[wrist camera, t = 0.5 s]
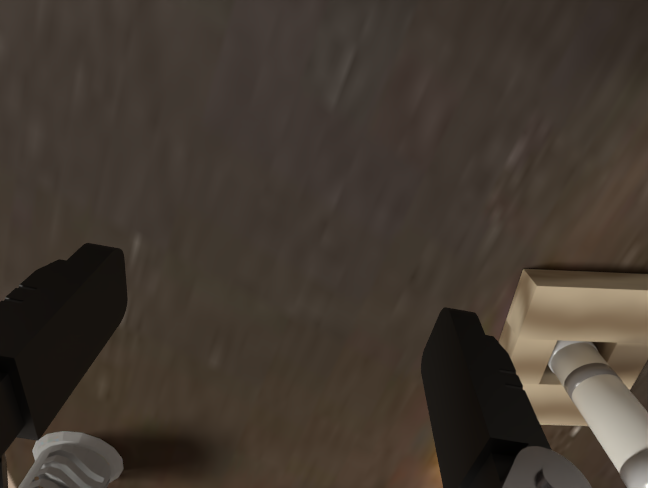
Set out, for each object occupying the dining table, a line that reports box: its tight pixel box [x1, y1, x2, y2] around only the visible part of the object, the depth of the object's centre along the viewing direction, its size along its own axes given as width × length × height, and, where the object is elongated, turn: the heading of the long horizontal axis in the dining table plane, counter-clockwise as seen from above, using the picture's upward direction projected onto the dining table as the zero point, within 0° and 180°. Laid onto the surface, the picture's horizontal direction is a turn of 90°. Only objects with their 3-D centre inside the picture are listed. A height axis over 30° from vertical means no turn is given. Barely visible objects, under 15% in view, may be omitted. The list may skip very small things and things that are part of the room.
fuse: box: [547, 340, 648, 488], centre depth 33 cm, size 4×4×14 cm
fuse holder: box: [499, 269, 648, 426], centre depth 38 cm, size 16×12×2 cm
